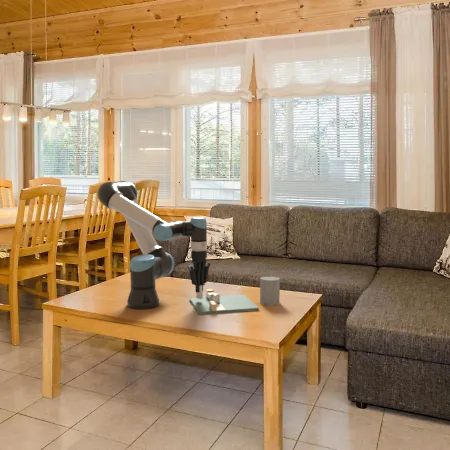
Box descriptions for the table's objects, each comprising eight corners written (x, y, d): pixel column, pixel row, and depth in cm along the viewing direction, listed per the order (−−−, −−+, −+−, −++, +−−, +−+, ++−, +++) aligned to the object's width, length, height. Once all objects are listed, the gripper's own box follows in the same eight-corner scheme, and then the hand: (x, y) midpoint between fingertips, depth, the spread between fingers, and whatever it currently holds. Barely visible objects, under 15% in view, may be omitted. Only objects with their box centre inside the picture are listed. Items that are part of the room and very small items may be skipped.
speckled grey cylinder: (265, 306, 232) (265, 281, 231) (256, 301, 241) (256, 276, 239) (283, 304, 236) (283, 279, 234) (273, 299, 244) (274, 275, 243)
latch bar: (220, 303, 231) (220, 295, 231) (211, 304, 230) (211, 296, 230) (213, 296, 245) (213, 288, 244) (205, 296, 244) (205, 288, 243)
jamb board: (199, 314, 219) (199, 305, 218) (189, 300, 242) (189, 292, 242) (258, 310, 226) (258, 301, 225) (244, 297, 249) (244, 288, 248)
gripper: (194, 252, 226) (194, 302, 229) (214, 249, 235) (214, 297, 238) (183, 250, 231) (184, 299, 234) (203, 247, 240) (204, 294, 243)
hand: (199, 298), depth 236 cm, fingers closed
